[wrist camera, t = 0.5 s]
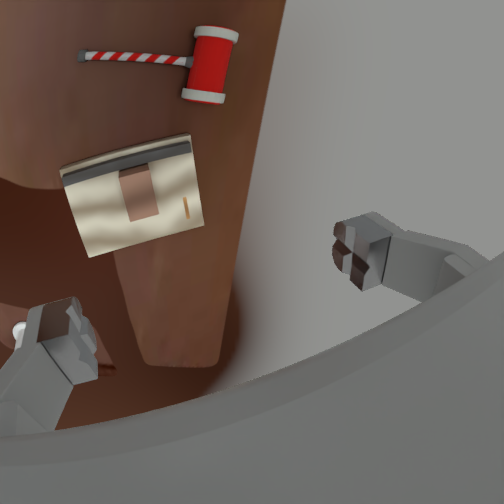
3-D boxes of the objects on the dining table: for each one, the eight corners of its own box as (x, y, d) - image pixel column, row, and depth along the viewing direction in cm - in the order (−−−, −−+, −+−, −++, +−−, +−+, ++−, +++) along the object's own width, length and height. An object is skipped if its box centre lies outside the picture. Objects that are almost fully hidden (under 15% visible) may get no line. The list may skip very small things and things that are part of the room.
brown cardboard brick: (118, 168, 44) (118, 178, 40) (147, 160, 45) (149, 169, 41) (129, 209, 48) (130, 222, 44) (155, 201, 49) (159, 214, 45)
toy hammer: (74, 93, 37) (66, 96, 32) (86, 21, 32) (81, 13, 27) (216, 102, 47) (228, 106, 42) (231, 35, 41) (245, 31, 36)
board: (61, 166, 42) (57, 174, 38) (187, 133, 47) (193, 137, 44) (89, 251, 51) (88, 263, 47) (201, 220, 56) (207, 230, 53)
